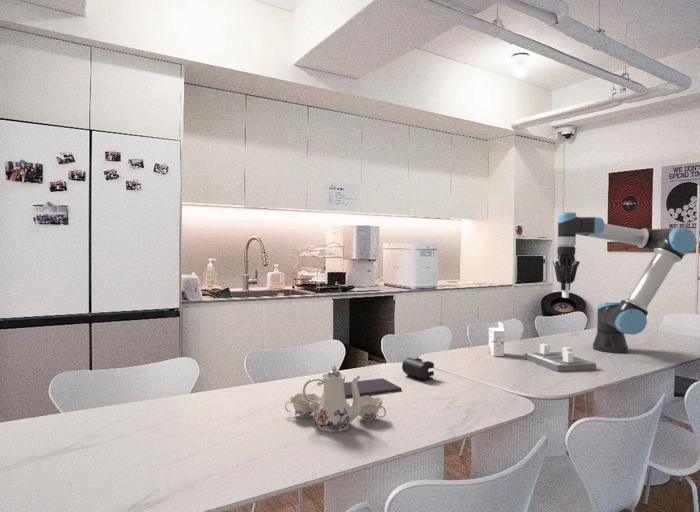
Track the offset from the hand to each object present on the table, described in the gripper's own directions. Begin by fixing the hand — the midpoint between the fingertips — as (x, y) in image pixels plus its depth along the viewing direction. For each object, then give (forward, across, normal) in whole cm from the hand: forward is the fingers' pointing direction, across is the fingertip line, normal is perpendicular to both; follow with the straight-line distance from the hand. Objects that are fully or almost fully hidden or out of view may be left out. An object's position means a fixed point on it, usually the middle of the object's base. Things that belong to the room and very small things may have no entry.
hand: (565, 297), depth 220 cm
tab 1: (+24, +16, +8) cm, 30 cm away
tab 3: (+24, +17, +23) cm, 37 cm away
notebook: (+27, +105, +34) cm, 114 cm away
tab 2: (+24, +11, +16) cm, 30 cm away
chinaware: (+27, +122, +62) cm, 139 cm away
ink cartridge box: (+27, +32, -5) cm, 42 cm away
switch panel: (+26, +15, +16) cm, 34 cm away
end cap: (+27, +82, +25) cm, 90 cm away
